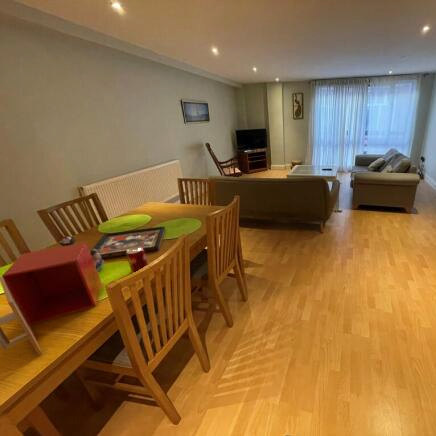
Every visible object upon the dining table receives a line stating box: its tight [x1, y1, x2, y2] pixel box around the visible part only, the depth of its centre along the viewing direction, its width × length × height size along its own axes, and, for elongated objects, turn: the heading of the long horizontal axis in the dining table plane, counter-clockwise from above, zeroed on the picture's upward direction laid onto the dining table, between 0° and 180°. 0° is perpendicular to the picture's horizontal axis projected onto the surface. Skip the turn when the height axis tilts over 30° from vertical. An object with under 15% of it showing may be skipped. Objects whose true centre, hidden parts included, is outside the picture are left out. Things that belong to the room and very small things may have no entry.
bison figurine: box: [89, 247, 105, 273], centre depth 116 cm, size 12×7×10 cm, turn 14°
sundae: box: [58, 233, 77, 247], centre depth 127 cm, size 7×7×15 cm
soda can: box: [125, 247, 149, 274], centre depth 116 cm, size 7×7×12 cm
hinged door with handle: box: [0, 276, 43, 356], centre depth 75 cm, size 6×20×21 cm, turn 54°
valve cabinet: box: [1, 241, 103, 325], centre depth 94 cm, size 16×20×22 cm
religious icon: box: [92, 226, 166, 259], centre depth 144 cm, size 38×35×3 cm
